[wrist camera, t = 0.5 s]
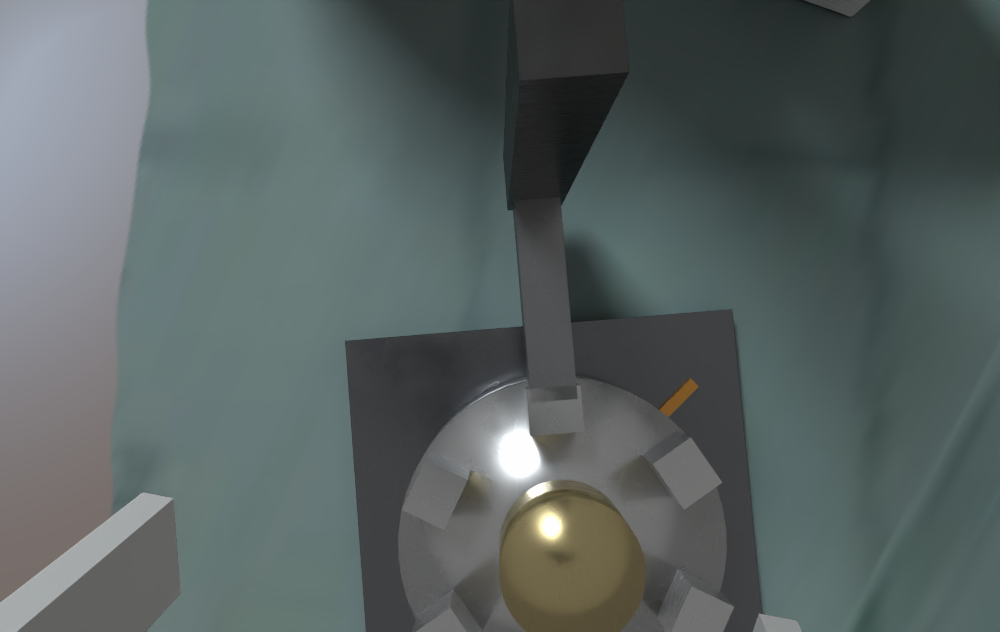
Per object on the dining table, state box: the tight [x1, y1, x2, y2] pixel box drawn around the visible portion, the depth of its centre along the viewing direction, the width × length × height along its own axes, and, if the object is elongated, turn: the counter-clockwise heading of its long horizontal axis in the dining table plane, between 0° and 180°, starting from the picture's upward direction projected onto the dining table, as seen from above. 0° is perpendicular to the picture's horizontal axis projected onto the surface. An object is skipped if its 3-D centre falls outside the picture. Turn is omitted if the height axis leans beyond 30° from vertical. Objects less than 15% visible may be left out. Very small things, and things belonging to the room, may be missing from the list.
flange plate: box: [345, 309, 762, 632], centre depth 29 cm, size 24×24×8 cm
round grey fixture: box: [398, 0, 734, 632], centre depth 23 cm, size 30×18×18 cm, turn 5°
